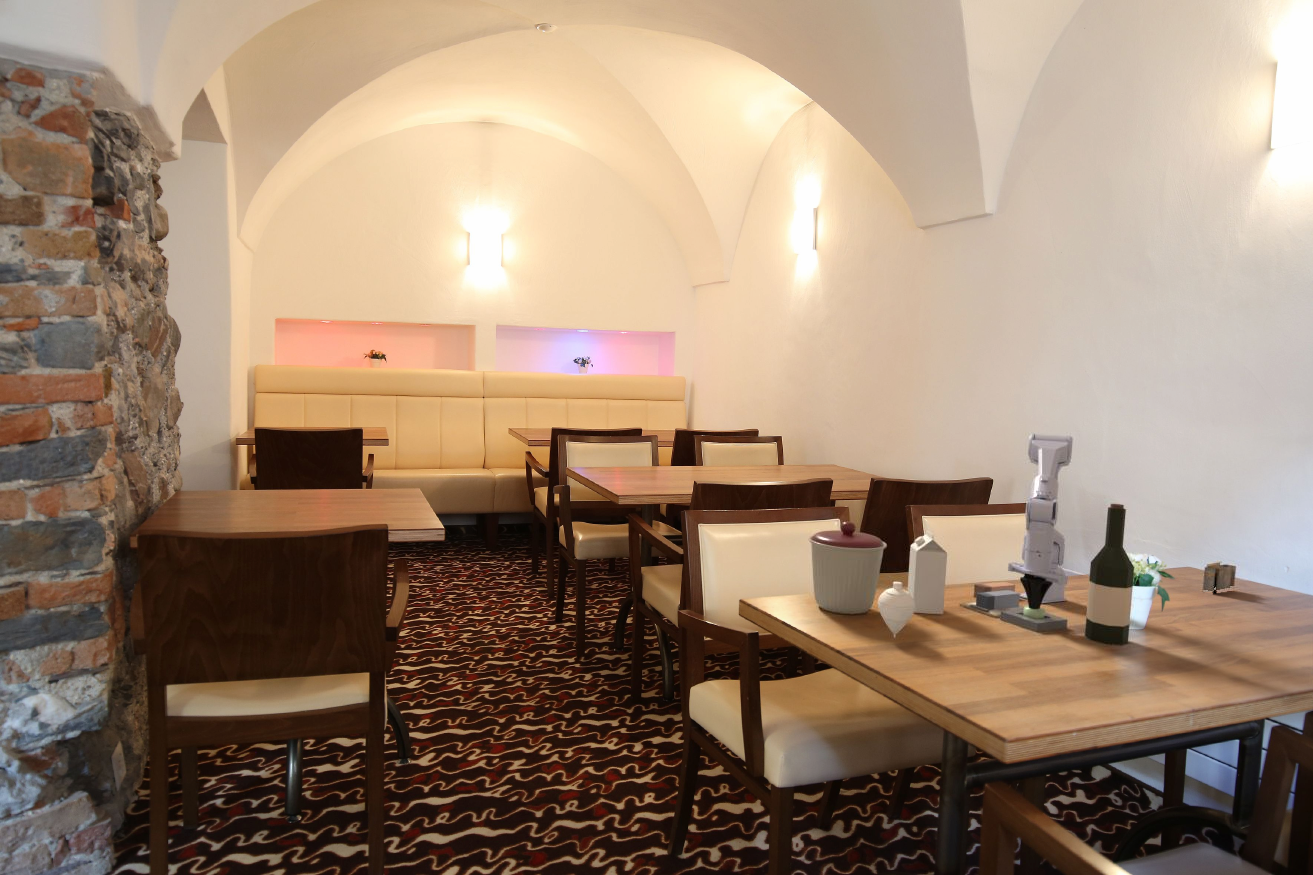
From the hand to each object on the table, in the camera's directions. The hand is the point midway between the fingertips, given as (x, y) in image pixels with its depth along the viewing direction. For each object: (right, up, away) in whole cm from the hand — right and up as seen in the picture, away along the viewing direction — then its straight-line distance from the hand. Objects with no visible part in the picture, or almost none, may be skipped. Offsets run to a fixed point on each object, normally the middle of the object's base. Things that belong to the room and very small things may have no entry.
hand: (1034, 608), depth 189 cm
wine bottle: (+11, -5, -10) cm, 16 cm away
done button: (0, -3, 0) cm, 3 cm away
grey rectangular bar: (-4, -2, +12) cm, 13 cm away
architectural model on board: (+72, -5, +42) cm, 83 cm away
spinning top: (-37, -3, -15) cm, 40 cm away
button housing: (0, -4, 0) cm, 4 cm away
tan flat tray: (-4, -3, +12) cm, 13 cm away
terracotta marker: (+1, -2, +24) cm, 24 cm away
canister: (-43, -2, +6) cm, 43 cm away
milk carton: (-23, -2, +8) cm, 24 cm away
